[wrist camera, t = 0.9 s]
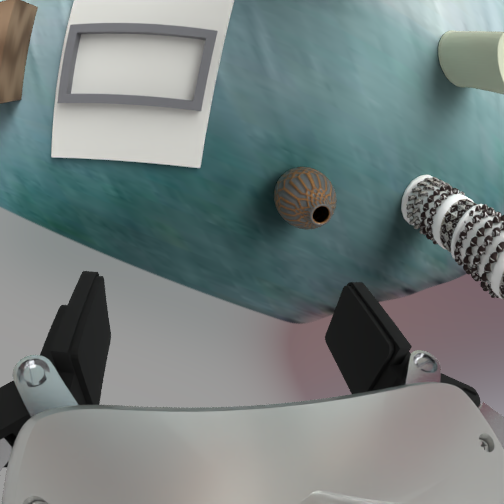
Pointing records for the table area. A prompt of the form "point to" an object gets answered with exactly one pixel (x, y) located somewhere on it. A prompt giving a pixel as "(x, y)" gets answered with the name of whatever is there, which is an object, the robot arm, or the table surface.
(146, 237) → the table surface
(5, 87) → the walnut bar
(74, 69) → the slot board
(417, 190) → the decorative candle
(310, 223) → the vase
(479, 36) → the can
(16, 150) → the table surface
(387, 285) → the table surface
